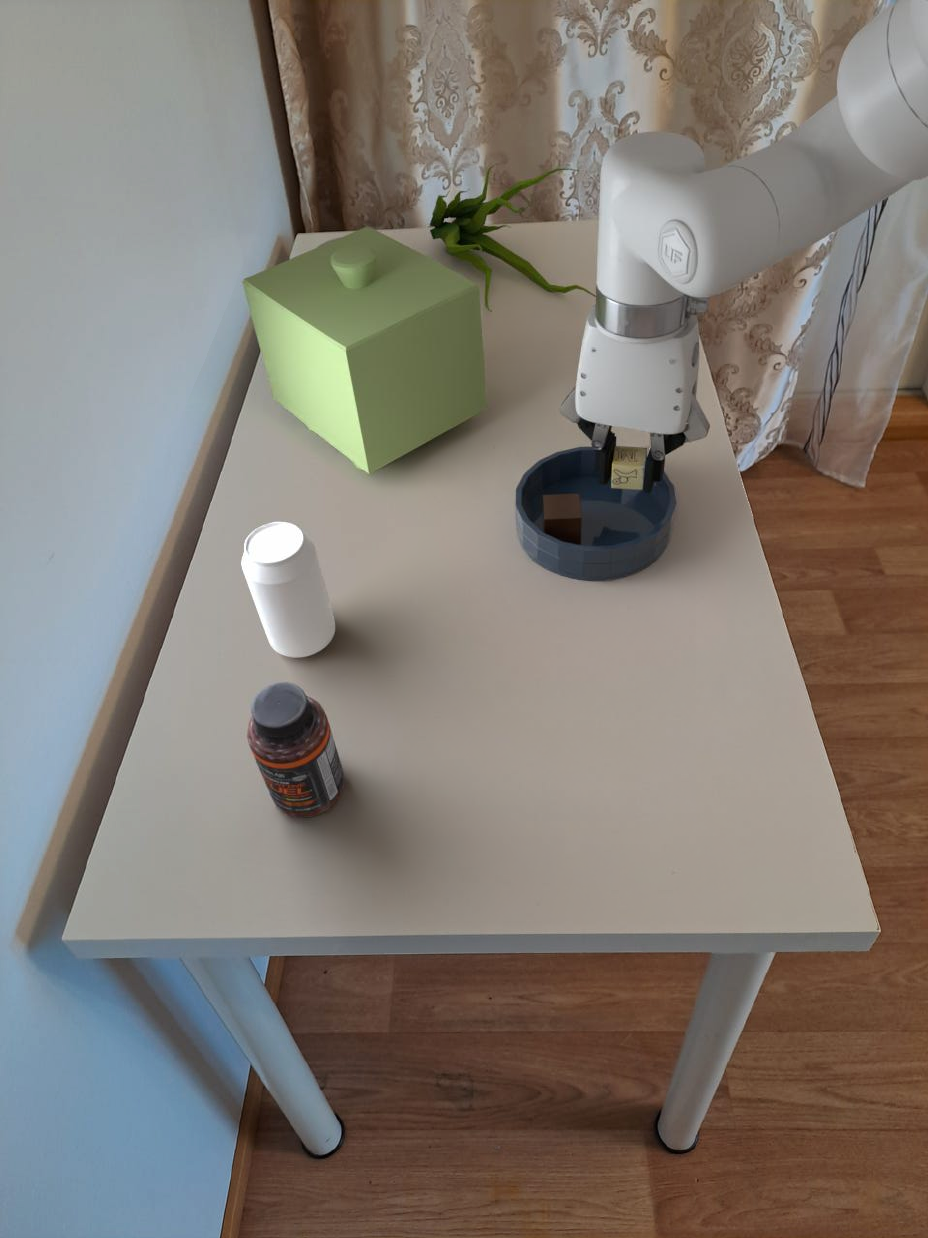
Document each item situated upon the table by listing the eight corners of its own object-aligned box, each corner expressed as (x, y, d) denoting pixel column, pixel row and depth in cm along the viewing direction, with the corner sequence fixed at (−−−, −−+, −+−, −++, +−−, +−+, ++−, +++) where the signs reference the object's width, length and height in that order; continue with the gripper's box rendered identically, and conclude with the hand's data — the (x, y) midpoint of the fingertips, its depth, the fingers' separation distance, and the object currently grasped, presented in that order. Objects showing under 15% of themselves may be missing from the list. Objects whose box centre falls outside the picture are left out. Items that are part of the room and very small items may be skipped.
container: (488, 426, 102) (477, 255, 87) (372, 492, 96) (339, 320, 81) (388, 360, 112) (363, 198, 97) (278, 416, 106) (233, 252, 91)
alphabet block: (643, 492, 86) (645, 466, 84) (610, 489, 86) (611, 464, 84) (645, 471, 88) (648, 446, 86) (613, 469, 88) (614, 444, 86)
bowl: (686, 492, 92) (691, 461, 89) (650, 596, 83) (654, 565, 80) (544, 465, 97) (543, 435, 94) (495, 561, 87) (493, 531, 84)
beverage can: (304, 674, 80) (273, 579, 71) (256, 644, 82) (220, 549, 74) (351, 629, 83) (327, 533, 74) (302, 602, 86) (273, 506, 77)
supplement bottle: (262, 818, 70) (223, 735, 62) (283, 753, 74) (249, 667, 66) (337, 824, 70) (307, 741, 61) (353, 759, 73) (328, 672, 65)
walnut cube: (578, 520, 90) (579, 493, 87) (580, 544, 87) (581, 517, 85) (543, 521, 90) (543, 494, 87) (544, 546, 88) (544, 519, 85)
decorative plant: (471, 348, 113) (463, 233, 102) (428, 242, 133) (417, 136, 122) (610, 323, 114) (616, 207, 103) (547, 222, 134) (547, 115, 123)
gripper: (754, 293, 73) (722, 471, 87) (558, 270, 78) (557, 442, 92) (737, 341, 69) (707, 521, 82) (530, 314, 74) (533, 488, 87)
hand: (628, 478), depth 87 cm, fingers closed on alphabet block, 3 cm apart
